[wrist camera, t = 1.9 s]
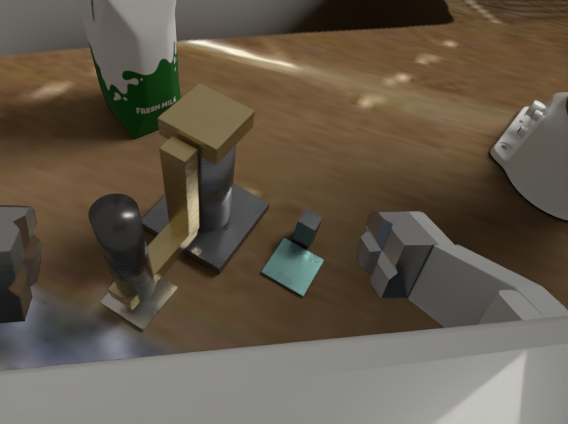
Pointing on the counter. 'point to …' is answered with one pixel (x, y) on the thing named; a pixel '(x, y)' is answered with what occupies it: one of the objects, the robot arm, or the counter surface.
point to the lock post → (227, 238)
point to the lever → (168, 192)
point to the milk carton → (134, 58)
